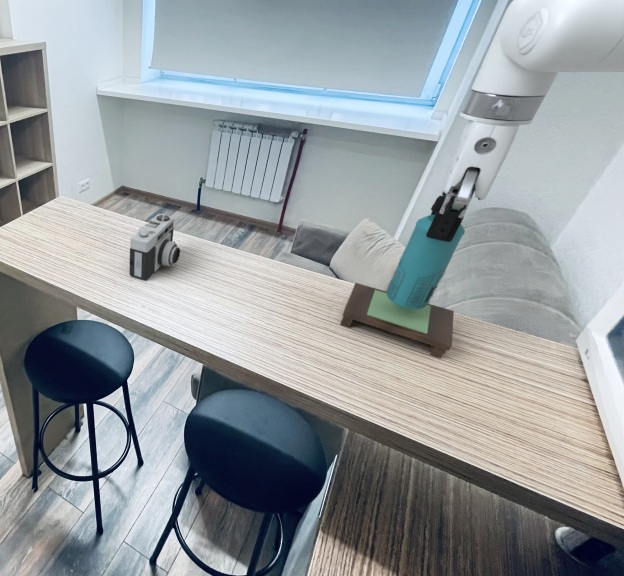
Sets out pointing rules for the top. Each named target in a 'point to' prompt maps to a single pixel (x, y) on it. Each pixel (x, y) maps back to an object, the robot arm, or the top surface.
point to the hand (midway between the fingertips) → (439, 228)
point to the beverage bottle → (422, 264)
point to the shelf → (401, 318)
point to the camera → (153, 247)
